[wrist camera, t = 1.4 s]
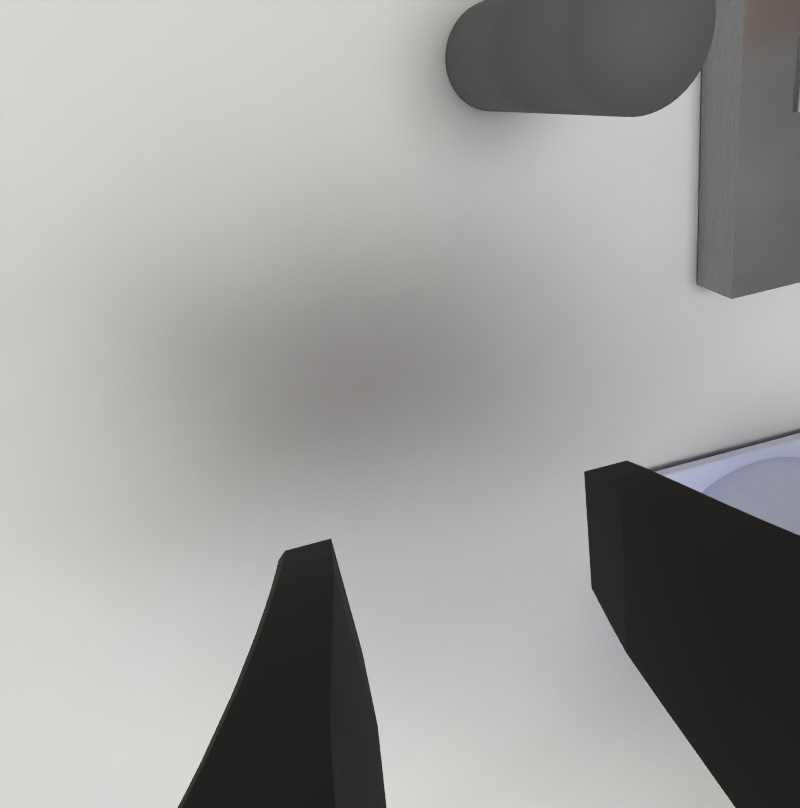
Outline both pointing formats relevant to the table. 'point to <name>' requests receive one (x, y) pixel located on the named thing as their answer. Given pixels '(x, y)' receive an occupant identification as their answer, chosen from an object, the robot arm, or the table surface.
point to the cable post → (579, 54)
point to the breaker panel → (750, 149)
